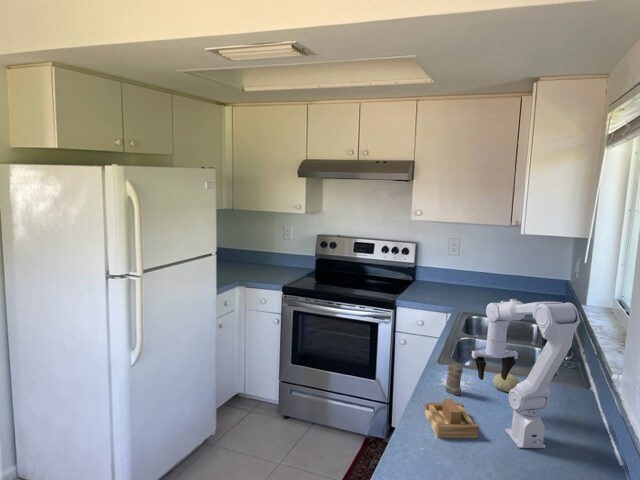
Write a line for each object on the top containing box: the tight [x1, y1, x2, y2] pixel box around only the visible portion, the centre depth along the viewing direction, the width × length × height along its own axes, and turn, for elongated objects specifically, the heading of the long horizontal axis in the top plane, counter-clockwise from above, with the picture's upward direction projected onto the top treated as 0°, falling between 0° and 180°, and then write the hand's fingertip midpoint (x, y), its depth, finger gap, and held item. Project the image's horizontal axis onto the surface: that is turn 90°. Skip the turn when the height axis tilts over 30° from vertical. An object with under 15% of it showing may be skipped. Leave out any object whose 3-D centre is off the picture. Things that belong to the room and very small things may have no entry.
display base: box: [423, 402, 479, 439], centre depth 152 cm, size 14×12×4 cm
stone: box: [445, 362, 464, 396], centre depth 173 cm, size 3×6×10 cm, turn 43°
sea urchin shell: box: [492, 372, 520, 393], centre depth 179 cm, size 9×8×8 cm
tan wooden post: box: [442, 398, 461, 424], centre depth 151 cm, size 8×3×4 cm, turn 4°
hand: (492, 378), depth 162 cm, fingers open, 7 cm apart
